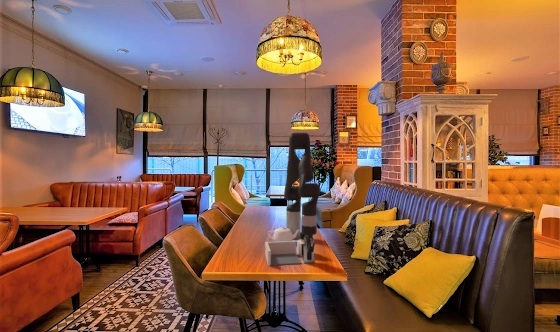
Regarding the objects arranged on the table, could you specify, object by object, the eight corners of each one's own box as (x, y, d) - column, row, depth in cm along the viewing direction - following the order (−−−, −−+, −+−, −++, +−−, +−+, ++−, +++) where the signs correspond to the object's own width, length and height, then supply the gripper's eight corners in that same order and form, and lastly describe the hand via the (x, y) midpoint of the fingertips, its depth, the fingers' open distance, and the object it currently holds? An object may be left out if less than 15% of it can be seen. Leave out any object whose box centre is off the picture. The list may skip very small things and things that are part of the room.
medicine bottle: (301, 257, 152) (301, 234, 152) (296, 253, 159) (297, 231, 158) (314, 256, 154) (314, 233, 153) (309, 251, 161) (309, 230, 160)
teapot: (299, 239, 185) (299, 223, 185) (300, 245, 173) (300, 228, 172) (267, 239, 185) (267, 223, 185) (266, 245, 173) (266, 228, 173)
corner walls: (265, 255, 155) (265, 242, 155) (295, 253, 157) (295, 240, 157) (268, 265, 140) (268, 251, 140) (301, 264, 142) (301, 249, 142)
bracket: (300, 257, 151) (300, 242, 151) (310, 257, 152) (310, 242, 151) (304, 263, 143) (304, 247, 143) (314, 263, 144) (314, 246, 143)
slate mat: (267, 255, 154) (267, 254, 154) (295, 254, 156) (295, 253, 156) (270, 265, 140) (270, 264, 140) (301, 264, 142) (301, 262, 142)
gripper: (298, 221, 150) (298, 254, 150) (304, 227, 136) (304, 264, 137) (313, 220, 151) (312, 254, 151) (320, 226, 137) (320, 263, 138)
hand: (308, 258), depth 144 cm, fingers closed on bracket, 1 cm apart
